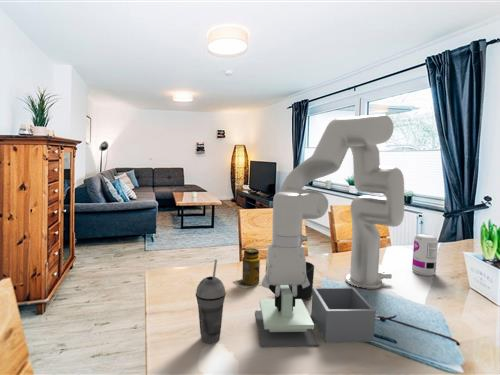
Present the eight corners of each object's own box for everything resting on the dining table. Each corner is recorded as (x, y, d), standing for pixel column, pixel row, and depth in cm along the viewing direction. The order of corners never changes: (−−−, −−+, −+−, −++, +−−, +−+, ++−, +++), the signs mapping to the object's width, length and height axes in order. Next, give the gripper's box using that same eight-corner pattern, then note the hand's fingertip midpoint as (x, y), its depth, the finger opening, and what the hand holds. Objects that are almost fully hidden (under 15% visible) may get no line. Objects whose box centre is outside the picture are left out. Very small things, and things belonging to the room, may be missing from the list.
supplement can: (413, 274, 125) (415, 237, 124) (411, 267, 133) (413, 232, 131) (436, 277, 122) (439, 239, 120) (433, 270, 130) (436, 234, 128)
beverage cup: (196, 331, 82) (196, 255, 80) (225, 330, 82) (226, 254, 81) (194, 348, 75) (194, 265, 73) (225, 347, 75) (226, 264, 73)
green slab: (301, 307, 91) (302, 278, 91) (313, 334, 77) (315, 300, 77) (259, 307, 91) (260, 278, 90) (264, 335, 77) (265, 301, 76)
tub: (352, 313, 93) (353, 287, 92) (373, 341, 79) (375, 310, 78) (311, 314, 92) (312, 287, 91) (325, 342, 78) (326, 311, 77)
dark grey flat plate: (303, 311, 93) (303, 310, 93) (319, 346, 76) (319, 344, 76) (255, 312, 92) (255, 310, 92) (260, 347, 75) (260, 345, 75)
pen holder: (306, 304, 98) (307, 272, 97) (279, 296, 103) (279, 266, 102) (317, 293, 106) (318, 264, 105) (291, 286, 111) (292, 258, 110)
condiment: (264, 284, 113) (264, 251, 112) (243, 289, 108) (244, 254, 107) (252, 277, 119) (253, 246, 118) (233, 282, 114) (233, 249, 113)
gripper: (314, 236, 86) (311, 302, 88) (254, 236, 85) (253, 302, 87) (321, 244, 79) (318, 315, 81) (256, 244, 78) (255, 316, 80)
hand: (284, 308), depth 84 cm, fingers closed on green slab, 2 cm apart
